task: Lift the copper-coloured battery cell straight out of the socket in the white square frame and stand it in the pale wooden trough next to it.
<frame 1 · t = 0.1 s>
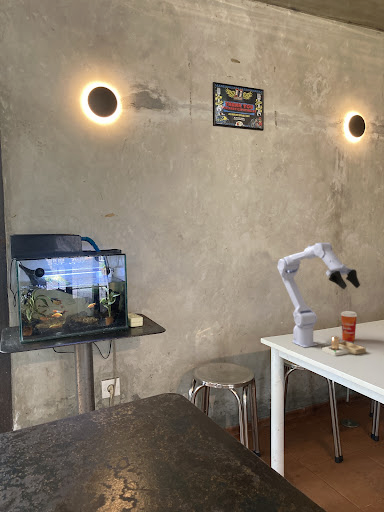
hand: (351, 287, 158), 32 cm above the table, tool tilted 50°, fingers open, 7 cm apart
battery cell: (335, 344, 173), in the white square frame
wooden trough: (350, 350, 176), on the table
paper cup: (348, 340, 192), on the table
white square frame: (334, 352, 174), on the table
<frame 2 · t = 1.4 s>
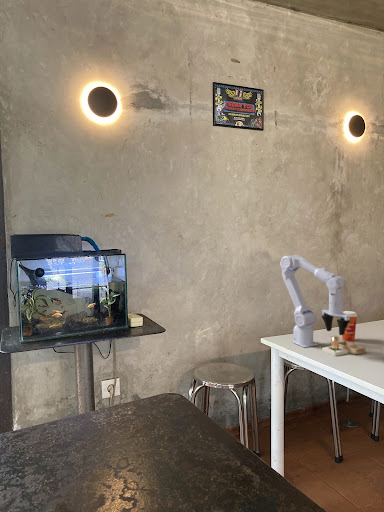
hand: (335, 332, 173), 9 cm above the table, tool pointing down, fingers open, 7 cm apart
nothing on the table moved.
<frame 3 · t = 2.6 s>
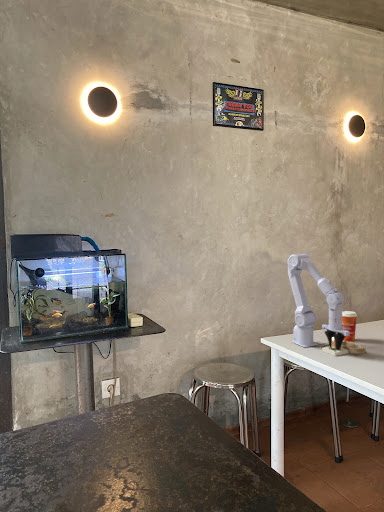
hand: (335, 347, 174), 2 cm above the table, tool pointing down, fingers closed on battery cell, 3 cm apart
battery cell: (335, 344, 173), in the white square frame, touching gripper
everything else where it was.
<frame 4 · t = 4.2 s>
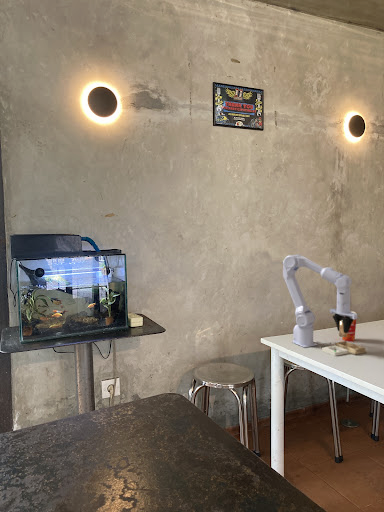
hand: (343, 331, 174), 9 cm above the table, tool pointing down, fingers closed on battery cell, 3 cm apart
battery cell: (343, 328, 174), point 11 cm above the table, touching gripper
everything else where it was.
when the fingers open (4 cm above the table, at t = 5.8 s): battery cell drops 1 cm, resting on wooden trough.
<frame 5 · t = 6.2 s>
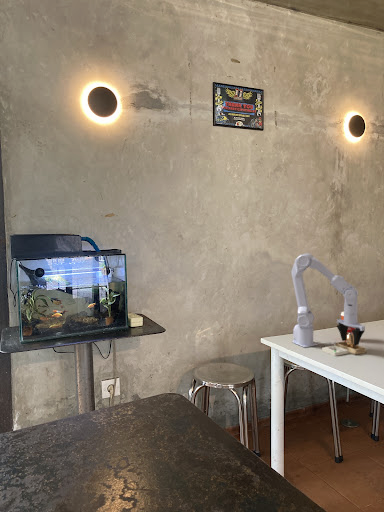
hand: (350, 342, 176), 4 cm above the table, tool pointing down, fingers open, 7 cm apart
battery cell: (350, 341, 176), in the wooden trough
everything else where it was.
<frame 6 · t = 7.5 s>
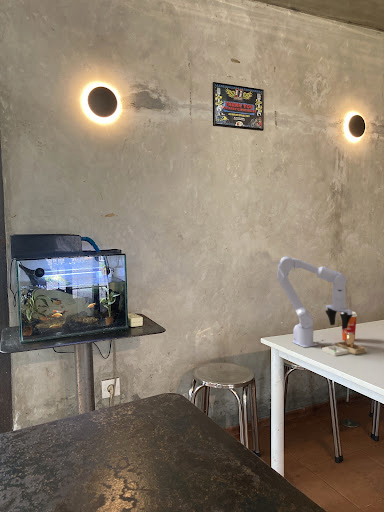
hand: (338, 326, 182), 9 cm above the table, tool pointing down, fingers open, 7 cm apart
nothing on the table moved.
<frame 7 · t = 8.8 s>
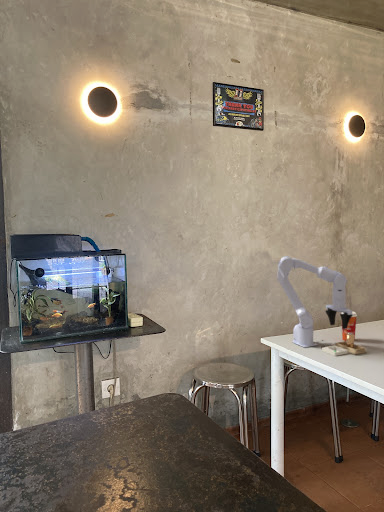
hand: (338, 326, 182), 9 cm above the table, tool pointing down, fingers open, 7 cm apart
nothing on the table moved.
at the end: battery cell inside the target area on the wooden trough (0.0 cm from its centre), point 4.1 cm above the wooden trough's base; battery cell tilted 0°; the gripper is holding nothing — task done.
